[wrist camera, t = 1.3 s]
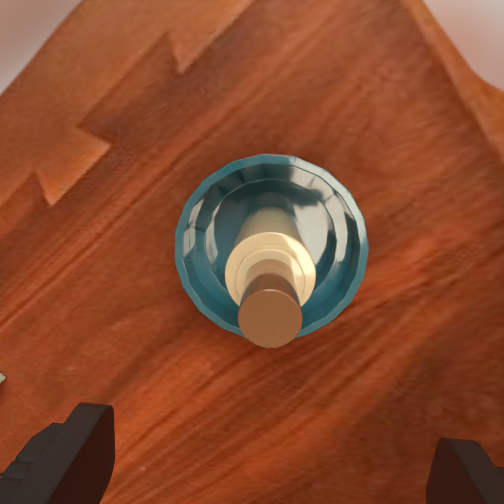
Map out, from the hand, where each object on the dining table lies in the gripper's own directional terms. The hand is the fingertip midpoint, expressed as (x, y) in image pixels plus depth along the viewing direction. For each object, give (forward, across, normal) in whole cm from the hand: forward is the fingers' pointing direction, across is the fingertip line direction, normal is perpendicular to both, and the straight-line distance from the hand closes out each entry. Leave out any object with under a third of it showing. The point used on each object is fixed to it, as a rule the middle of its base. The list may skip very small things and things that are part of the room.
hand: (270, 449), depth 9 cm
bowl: (+22, 0, 0) cm, 22 cm away
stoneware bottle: (+22, 0, 0) cm, 22 cm away
